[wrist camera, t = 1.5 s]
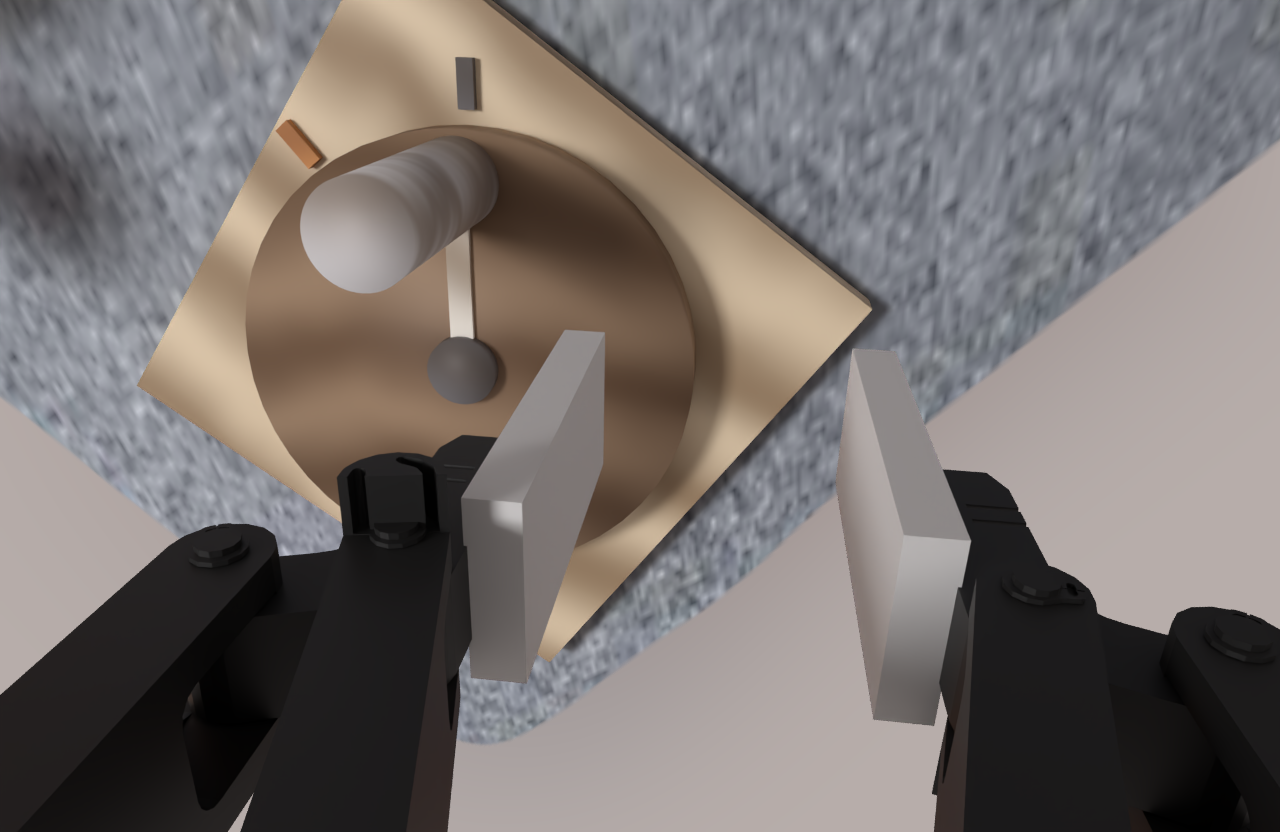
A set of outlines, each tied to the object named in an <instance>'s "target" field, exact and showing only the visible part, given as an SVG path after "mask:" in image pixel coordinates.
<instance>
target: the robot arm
mask: <svg viewBox="0 0 1280 832" xmlns="http://www.w3.org/2000/svg"><path fill="white" fill-rule="evenodd" d="M604 376H605V332H592V331H577V330H564V332H563V334H562V335H561V337H560V338H559V340H558V342H557V343H556V345H555V346H554V348H553V350H552V351H551V353H550V355H549V356H548V358H547V359H546V361H545V363H544V364H543V366H542V368H541V369H540V371H539V372H538V374H537V376H536V377H535V379H534V380H533V382H532V384H531V385H530V387H529V389H528V390H527V392H526V393H525V395H524V397H523V398H522V400H521V402H520V403H519V405H518V406H517V408H516V410H515V411H514V413H513V414H512V416H511V418H510V419H509V421H508V423H507V424H506V426H505V427H504V429H503V431H502V432H501V434H500V436H499V437H485V436H472V435H461V436H459V437H457V438H456V439H454V440H452V441H450V442H449V443H447V444H445V445H443V446H441V447H440V448H439V449H438V450H437V452H436V453H435V454H434V456H433V457H429V456H425V455H422V454H418V453H403V452H396V453H387V454H378V455H374V456H371V457H367V458H364V459H360V460H358V461H356V462H354V463H352V464H350V465H349V466H347V467H345V468H344V469H343V470H342V471H341V473H340V474H339V475H338V476H337V485H338V493H339V502H340V511H341V519H342V528H343V538H342V541H341V544H340V547H339V549H337V550H333V551H326V552H320V553H311V554H301V555H290V556H279V554H278V547H277V542H276V538H275V535H274V534H272V533H271V532H270V531H268V530H267V529H265V528H263V527H258V526H254V525H250V524H231V523H227V524H218V526H216V525H213V526H209V527H205V528H203V529H201V530H199V531H196V532H194V533H191V534H188V535H186V536H184V537H182V538H180V539H179V540H177V541H176V542H174V543H173V544H171V545H170V546H168V547H167V548H166V549H165V550H164V551H163V552H161V553H160V554H159V555H158V556H157V557H156V558H155V559H154V560H152V561H151V562H150V563H149V564H148V565H147V566H146V567H145V568H144V569H142V570H141V571H140V572H139V573H138V574H137V575H135V576H134V577H133V578H132V579H131V580H130V581H129V582H128V583H126V584H125V585H124V586H123V587H122V588H121V589H120V590H119V591H117V592H116V593H115V594H114V595H113V596H112V597H111V598H109V599H108V600H107V601H106V602H105V603H104V604H103V605H102V606H100V607H99V608H98V609H97V610H96V611H95V612H94V613H92V614H91V615H90V616H89V617H88V618H87V619H86V620H85V621H83V622H82V623H81V624H80V625H79V626H78V627H77V628H76V629H74V630H73V631H72V632H71V633H70V634H69V635H68V636H66V637H65V638H64V639H63V640H62V641H61V642H60V643H59V644H57V646H55V647H54V648H53V649H52V650H51V651H49V652H48V653H47V654H46V655H45V656H44V657H43V658H42V659H40V660H39V661H38V662H37V663H36V664H35V665H34V666H33V667H31V668H30V669H29V670H28V671H27V672H26V673H25V674H24V675H22V676H21V677H20V678H19V679H18V680H17V681H16V682H15V683H13V684H12V685H11V686H10V687H9V688H8V689H7V690H5V691H4V692H3V693H2V694H1V695H0V832H228V830H229V829H230V828H231V826H232V825H233V823H234V821H235V820H236V818H237V817H238V815H239V814H240V812H241V811H242V809H243V808H244V806H245V805H246V803H247V802H248V800H249V799H250V797H251V796H252V794H253V793H254V794H253V797H252V800H251V803H250V806H249V808H248V811H247V814H246V817H245V820H244V823H243V826H242V829H241V831H240V832H447V830H448V819H449V809H450V800H451V788H452V779H453V768H454V758H455V748H456V738H457V727H458V717H459V707H460V681H459V666H460V664H461V662H462V660H463V658H464V656H465V653H466V651H467V649H468V647H469V650H470V668H471V678H478V679H487V680H497V681H507V682H516V683H526V684H527V681H528V679H529V676H530V673H531V670H532V667H533V664H534V661H535V658H536V656H537V653H538V650H539V647H540V644H541V641H542V638H543V635H544V633H545V630H546V627H547V624H548V621H549V618H550V615H551V613H552V610H553V607H554V604H555V601H556V598H557V595H558V592H559V590H560V587H561V584H562V581H563V578H564V575H565V572H566V570H567V567H568V564H569V561H570V558H571V555H572V552H573V549H574V547H575V544H576V541H577V538H578V535H579V532H580V529H581V526H582V524H583V521H584V518H585V515H586V512H587V509H588V506H589V504H590V501H591V498H592V495H593V492H594V489H595V486H596V483H597V481H598V478H599V475H600V472H601V469H602V466H603V448H604ZM835 483H836V489H837V495H838V501H839V508H840V514H841V520H842V526H843V533H844V539H845V545H846V551H847V558H848V564H849V570H850V576H851V583H852V589H853V595H854V601H855V607H856V614H857V620H858V626H859V632H860V639H861V645H862V651H863V657H864V663H865V670H866V676H867V682H868V688H869V695H870V701H871V707H872V714H873V719H874V720H883V721H893V722H903V723H912V724H922V725H932V726H934V724H935V718H936V714H937V709H938V703H939V699H940V694H941V692H942V696H943V700H944V703H945V707H946V711H947V714H948V717H947V722H946V727H945V732H944V737H943V742H942V747H941V751H940V756H939V761H938V766H937V771H936V776H935V781H934V785H933V791H932V794H934V795H937V803H936V815H935V826H934V832H1280V629H1278V628H1276V627H1274V626H1273V625H1271V624H1269V623H1267V622H1266V621H1265V620H1263V619H1261V618H1258V617H1256V616H1253V615H1250V616H1249V615H1247V613H1244V612H1240V611H1237V610H1228V609H1222V608H1216V607H1191V608H1188V609H1186V610H1184V611H1181V612H1179V613H1177V614H1176V616H1175V618H1174V620H1173V622H1172V624H1171V628H1170V630H1169V634H1168V635H1165V634H1161V633H1157V632H1154V631H1150V630H1146V629H1143V628H1139V627H1135V626H1131V625H1128V624H1124V623H1121V622H1118V621H1115V620H1112V619H1109V618H1106V617H1104V616H1102V615H1099V614H1098V613H1097V607H1096V602H1095V600H1094V598H1093V596H1092V594H1091V592H1090V590H1089V589H1088V588H1087V587H1086V586H1085V585H1083V584H1082V583H1081V582H1080V581H1079V580H1077V579H1076V578H1075V577H1073V576H1071V575H1069V574H1067V573H1065V572H1063V571H1061V570H1059V569H1057V568H1055V567H1051V566H1048V564H1047V562H1046V560H1045V558H1044V556H1043V554H1042V552H1041V551H1040V549H1039V547H1038V545H1037V543H1036V541H1035V539H1034V537H1033V535H1032V533H1031V532H1030V529H1029V528H1028V527H1026V522H1025V520H1024V518H1023V516H1022V514H1021V512H1018V507H1017V504H1016V503H1015V501H1014V499H1013V497H1012V495H1011V493H1010V491H1009V490H1008V489H1007V488H1006V487H1004V486H1003V485H1002V484H1000V483H999V482H998V481H997V480H995V479H994V478H993V477H991V476H990V475H988V474H987V473H982V472H968V471H956V470H943V469H942V467H941V465H940V462H939V459H938V457H937V454H936V452H935V450H934V447H933V445H932V442H931V439H930V437H929V434H928V432H927V429H926V427H925V424H924V422H923V419H922V417H921V414H920V412H919V409H918V407H917V404H916V402H915V399H914V397H913V394H912V392H911V389H910V387H909V384H908V382H907V379H906V377H905V374H904V372H903V369H902V367H901V364H900V362H899V359H898V357H897V354H896V352H895V351H882V350H867V349H852V357H851V365H850V373H849V381H848V388H847V396H846V404H845V412H844V420H843V428H842V435H841V443H840V451H839V459H838V467H837V474H836V482H835Z"/></svg>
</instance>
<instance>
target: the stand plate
mask: <svg viewBox="0 0 1280 832" xmlns="http://www.w3.org/2000/svg"><path fill="white" fill-rule="evenodd" d="M437 125H475V126H483V127H492V128H500V129H503V130H507V131H511V132H515V133H519V134H523V135H527V136H530V137H533V138H535V139H538V140H540V141H543V142H545V143H548V144H550V145H553V146H555V147H558V148H560V149H561V150H563V151H565V152H567V153H569V154H570V155H572V156H574V157H576V158H578V159H579V160H581V161H583V162H585V163H586V164H588V165H589V166H590V167H592V168H593V169H595V170H596V171H597V172H599V173H600V174H601V175H603V176H604V177H605V178H607V179H608V180H609V181H611V182H612V183H613V184H614V185H615V186H616V187H617V188H618V189H619V190H620V191H621V192H622V193H623V194H624V195H625V196H627V197H628V198H629V199H630V200H631V201H632V202H633V203H634V204H635V205H636V207H637V208H638V209H639V210H640V212H641V213H642V214H643V215H644V217H645V218H646V219H647V220H648V221H649V223H650V224H651V225H652V226H653V228H654V229H655V231H656V232H657V234H658V236H659V237H660V239H661V240H662V242H663V244H664V245H665V247H666V249H667V250H668V252H669V254H670V255H671V257H672V260H673V262H674V264H675V266H676V269H677V271H678V273H679V275H680V278H681V280H682V282H683V285H684V289H685V292H686V295H687V299H688V302H689V306H690V309H691V314H692V320H693V327H694V333H695V344H696V370H695V378H694V386H693V394H692V399H691V405H690V411H689V414H688V418H687V422H686V425H685V429H684V433H683V436H682V439H681V441H680V444H679V446H678V448H677V451H676V453H675V455H674V457H673V460H672V462H671V464H670V465H669V467H668V468H667V470H666V472H665V473H664V475H663V477H662V478H661V480H660V481H659V483H658V485H657V486H656V487H655V488H654V489H653V491H652V492H651V493H650V494H649V495H648V496H647V498H646V499H645V500H644V501H643V502H642V504H641V505H640V506H638V507H637V508H636V509H635V510H634V511H633V512H632V513H631V514H630V515H628V516H627V517H626V518H625V519H624V520H623V521H622V522H620V523H619V524H617V525H616V526H614V527H613V528H611V529H610V530H608V531H607V532H605V533H604V534H602V535H601V536H599V537H597V538H595V539H593V540H591V541H589V542H587V543H585V544H583V545H581V546H579V547H576V548H574V549H573V552H572V555H571V558H570V561H569V564H568V567H567V570H566V572H565V575H564V578H563V581H562V584H561V587H560V590H559V592H558V595H557V598H556V601H555V604H554V607H553V610H552V613H551V615H550V618H549V621H548V624H547V627H546V630H545V633H544V635H543V638H542V641H541V644H540V647H539V650H538V653H537V654H538V655H539V656H541V657H542V658H544V659H545V660H547V661H548V662H550V661H551V660H552V659H553V658H554V656H555V655H556V654H557V653H558V652H559V651H560V650H561V649H562V648H563V647H564V646H565V644H566V643H567V642H568V641H569V640H570V639H571V638H572V637H573V636H574V635H575V634H576V632H577V631H578V630H579V629H580V628H581V627H582V626H583V625H584V624H585V623H586V622H587V620H588V619H589V618H590V617H591V616H592V615H593V614H594V613H595V612H596V611H597V610H598V608H599V607H600V606H601V605H602V604H603V603H604V602H605V601H606V600H607V599H608V598H609V596H610V595H611V594H612V593H613V592H614V591H615V590H616V589H617V588H618V587H619V586H620V584H621V583H622V582H623V581H624V580H625V579H626V578H627V577H628V576H629V575H630V574H631V572H632V571H633V570H634V569H635V568H636V567H637V566H638V565H639V564H640V563H641V562H642V560H643V559H644V558H645V557H646V556H647V555H648V554H649V553H650V552H651V551H652V550H653V548H654V547H655V546H656V545H657V544H658V543H659V542H660V541H661V540H662V539H663V538H664V536H665V535H666V534H667V533H668V532H669V531H670V530H671V529H672V528H673V527H674V526H675V524H676V523H677V522H678V521H679V520H680V519H681V518H682V517H683V516H684V515H685V514H686V512H687V511H688V510H689V509H690V508H691V507H692V506H693V505H694V504H695V503H696V502H697V500H698V499H699V498H700V497H701V496H702V495H703V494H704V493H705V492H706V491H707V490H708V488H709V487H710V486H711V485H712V484H713V483H714V482H715V481H716V480H717V479H718V478H719V476H720V475H721V474H722V473H723V472H724V471H725V470H726V469H727V468H728V467H729V466H730V464H731V463H732V462H733V461H734V460H735V459H736V458H737V457H738V456H739V455H740V454H741V452H742V451H743V450H744V449H745V448H746V447H747V446H748V445H749V444H750V443H751V442H752V440H753V439H754V438H755V437H756V436H757V435H758V434H759V433H760V432H761V431H762V430H763V428H764V427H765V426H766V425H767V424H768V423H769V422H770V421H771V420H772V419H773V418H774V416H775V415H776V414H777V413H778V412H779V411H780V410H781V409H782V408H783V407H784V406H785V404H786V403H787V402H788V401H789V400H790V399H791V398H792V397H793V396H794V395H795V394H796V392H797V391H798V390H799V389H800V388H801V387H802V386H803V385H804V384H805V383H806V382H807V380H808V379H809V378H810V377H811V376H812V375H813V374H814V373H815V372H816V371H817V370H818V368H819V367H820V366H821V365H822V364H823V363H824V362H825V361H826V360H827V359H828V358H829V356H830V355H831V354H832V353H833V352H834V351H835V350H836V349H837V348H838V347H839V346H840V344H841V343H842V342H843V341H844V340H845V339H846V338H847V337H848V336H849V335H850V334H851V332H852V331H853V330H854V329H855V328H856V327H857V326H858V325H859V324H860V323H861V322H862V320H863V319H864V318H865V317H866V316H867V315H868V314H869V313H870V312H871V311H872V307H871V304H870V302H869V299H867V298H866V297H865V296H863V295H862V294H861V293H860V292H858V291H857V290H856V289H855V288H853V287H852V286H851V285H850V284H848V283H847V282H846V281H845V280H843V279H842V278H841V277H840V276H838V275H837V274H836V273H835V272H833V271H832V270H831V269H830V268H828V267H827V266H826V265H824V264H823V263H822V262H821V261H819V260H818V259H817V258H816V257H814V256H813V255H812V254H811V253H809V252H808V251H807V250H806V249H804V248H803V247H802V246H801V245H799V244H798V243H797V242H796V241H794V240H793V239H792V238H791V237H789V236H788V235H787V234H786V233H784V232H783V231H782V230H780V229H779V228H778V227H777V226H775V225H774V224H773V223H772V222H770V221H769V220H768V219H767V218H765V217H764V216H763V215H762V214H760V213H759V212H758V211H757V210H755V209H754V208H753V207H752V206H750V205H749V204H748V203H747V202H745V201H744V200H743V199H741V198H740V197H739V196H738V195H736V194H735V193H734V192H733V191H731V190H730V189H729V188H728V187H726V186H725V185H724V184H723V183H721V182H720V181H719V180H718V179H716V178H715V177H714V176H713V175H711V174H710V173H709V172H708V171H706V170H705V169H704V168H703V167H701V166H700V165H699V164H697V163H696V162H695V161H694V160H692V159H691V158H690V157H689V156H687V155H686V154H685V153H684V152H682V151H681V150H680V149H679V148H677V147H676V146H675V145H674V144H672V143H671V142H670V141H669V140H667V139H666V138H665V137H664V136H662V135H661V134H660V133H658V132H657V131H656V130H655V129H653V128H652V127H651V126H650V125H648V124H647V123H646V122H645V121H643V120H642V119H641V118H640V117H638V116H637V115H636V114H635V113H633V112H632V111H631V110H630V109H628V108H627V107H626V106H625V105H623V104H622V103H621V102H619V101H618V100H617V99H616V98H614V97H613V96H612V95H611V94H609V93H608V92H607V91H606V90H604V89H603V88H602V87H601V86H599V85H598V84H597V83H596V82H594V81H593V80H592V79H591V78H589V77H588V76H587V75H586V74H584V73H583V72H582V71H581V70H579V69H578V68H577V67H575V66H574V65H573V64H572V63H570V62H569V61H568V60H567V59H565V58H564V57H563V56H562V55H560V54H559V53H558V52H557V51H555V50H554V49H553V48H552V47H550V46H549V45H548V44H547V43H545V42H544V41H543V40H542V39H540V38H539V37H538V36H536V35H535V34H534V33H533V32H531V31H530V30H529V29H528V28H526V27H525V26H524V25H523V24H521V23H520V22H519V21H518V20H516V19H515V18H514V17H513V16H511V15H510V14H509V13H508V12H506V11H505V10H504V9H503V8H501V7H500V6H499V5H497V4H496V3H495V2H494V1H492V0H342V1H341V3H340V5H339V6H338V8H337V10H336V12H335V14H334V16H333V18H332V20H331V22H330V23H329V25H328V27H327V29H326V31H325V33H324V35H323V37H322V38H321V40H320V42H319V44H318V46H317V48H316V50H315V52H314V53H313V55H312V57H311V59H310V61H309V63H308V65H307V67H306V69H305V70H304V72H303V74H302V76H301V78H300V80H299V82H298V84H297V85H296V87H295V89H294V91H293V93H292V95H291V97H290V99H289V100H288V102H287V104H286V106H285V108H284V110H283V112H282V114H281V116H280V117H279V119H278V121H277V123H276V125H275V127H274V129H273V131H272V132H271V134H270V136H269V138H268V140H267V142H266V144H265V146H264V147H263V149H262V151H261V153H260V155H259V157H258V159H257V161H256V163H255V164H254V166H253V168H252V170H251V172H250V174H249V176H248V178H247V179H246V181H245V183H244V185H243V187H242V189H241V191H240V193H239V194H238V196H237V198H236V200H235V202H234V204H233V206H232V208H231V210H230V211H229V213H228V215H227V217H226V219H225V221H224V223H223V225H222V226H221V228H220V230H219V232H218V234H217V236H216V238H215V240H214V241H213V243H212V245H211V247H210V249H209V251H208V253H207V255H206V257H205V258H204V260H203V262H202V264H201V266H200V268H199V270H198V272H197V273H196V275H195V277H194V279H193V281H192V283H191V285H190V287H189V288H188V290H187V292H186V294H185V296H184V298H183V300H182V302H181V304H180V305H179V307H178V309H177V311H176V313H175V315H174V317H173V319H172V320H171V322H170V324H169V326H168V328H167V330H166V332H165V334H164V336H163V337H162V339H161V341H160V343H159V345H158V347H157V349H156V351H155V352H154V354H153V356H152V358H151V360H150V362H149V364H148V366H147V367H146V369H145V371H144V373H143V375H142V377H141V379H140V381H139V383H138V384H137V386H138V387H140V388H141V389H143V390H144V391H146V392H147V393H149V394H150V395H152V396H153V397H155V398H156V399H158V400H159V401H161V402H162V403H164V404H165V405H167V406H168V407H170V408H171V409H173V410H174V411H176V412H177V413H179V414H180V415H182V416H183V417H185V418H186V419H187V420H189V421H190V422H192V423H193V424H195V425H196V426H198V427H199V428H201V429H202V430H204V431H205V432H207V433H208V434H210V435H211V436H213V437H214V438H216V439H217V440H219V441H220V442H222V443H223V444H225V445H226V446H228V447H229V448H231V449H232V450H234V451H235V452H237V453H238V454H240V455H241V456H243V457H244V458H246V459H247V460H249V461H250V462H252V463H253V464H255V465H256V466H258V467H259V468H260V469H262V470H263V471H265V472H266V473H268V474H269V475H271V476H272V477H274V478H275V479H277V480H278V481H280V482H281V483H283V484H284V485H286V486H287V487H289V488H290V489H292V490H293V491H295V492H296V493H298V494H299V495H301V496H302V497H304V498H305V499H307V500H308V501H310V502H311V503H313V504H314V505H316V506H317V507H319V508H320V509H322V510H323V511H325V512H326V513H328V514H329V515H331V516H332V517H334V518H335V519H336V520H338V521H339V522H341V523H342V519H341V511H340V506H338V505H337V504H336V503H335V502H334V501H332V500H331V499H330V498H329V497H327V496H326V495H325V494H324V493H323V492H322V491H321V490H320V489H319V488H318V487H317V486H316V485H315V484H314V483H313V482H312V481H311V480H310V479H309V478H308V477H307V475H306V474H305V473H304V472H303V470H302V469H301V468H300V467H299V465H298V464H297V463H296V462H295V460H294V459H293V458H292V457H291V455H290V454H289V452H288V451H287V449H286V448H285V446H284V445H283V443H282V441H281V440H280V438H279V437H278V435H277V434H276V432H275V430H274V428H273V426H272V424H271V422H270V420H269V418H268V416H267V414H266V412H265V410H264V408H263V405H262V402H261V400H260V397H259V394H258V391H257V388H256V385H255V382H254V379H253V375H252V370H251V365H250V361H249V356H248V350H247V339H246V327H245V321H246V301H247V293H248V287H249V282H250V277H251V272H252V268H253V265H254V262H255V259H256V256H257V254H258V251H259V248H260V245H261V243H262V241H263V239H264V237H265V235H266V233H267V231H268V229H269V227H270V225H271V223H272V222H273V220H274V218H275V217H276V215H277V214H278V213H279V211H280V210H281V209H282V207H283V206H284V205H285V203H286V202H287V201H288V199H289V198H290V196H291V195H292V194H293V193H294V192H295V191H296V190H298V189H299V188H300V187H301V186H302V185H303V184H304V183H305V182H306V181H307V180H308V179H309V178H310V177H311V176H312V175H313V174H315V173H316V172H318V171H319V170H320V169H322V168H323V167H325V166H326V165H327V164H329V163H330V162H331V161H333V160H334V159H336V158H338V157H340V156H342V155H344V154H346V153H348V152H350V151H352V150H354V149H356V148H358V147H360V146H362V145H365V144H368V143H371V142H374V141H377V140H380V139H383V138H386V137H389V136H392V135H395V134H398V133H401V132H405V131H408V130H413V129H419V128H425V127H431V126H437Z"/></svg>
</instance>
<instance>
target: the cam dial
mask: <svg viewBox="0 0 1280 832" xmlns="http://www.w3.org/2000/svg"><path fill="white" fill-rule="evenodd" d="M245 327H246V339H247V350H248V356H249V361H250V365H251V370H252V375H253V379H254V382H255V385H256V388H257V391H258V394H259V397H260V400H261V402H262V405H263V408H264V410H265V412H266V414H267V416H268V418H269V420H270V422H271V424H272V426H273V428H274V430H275V432H276V434H277V435H278V437H279V438H280V440H281V441H282V443H283V445H284V446H285V448H286V449H287V451H288V452H289V454H290V455H291V457H292V458H293V459H294V460H295V462H296V463H297V464H298V465H299V467H300V468H301V469H302V470H303V472H304V473H305V474H306V475H307V477H308V478H309V479H310V480H311V481H312V482H313V483H314V484H315V485H316V486H317V487H318V488H319V489H320V490H321V491H322V492H323V493H324V494H325V495H326V496H327V497H329V498H330V499H331V500H332V501H334V502H335V503H336V504H337V505H338V506H340V502H339V493H338V485H337V476H338V475H339V474H340V473H341V471H342V470H343V469H344V468H345V467H347V466H349V465H350V464H352V463H354V462H356V461H358V460H360V459H364V458H367V457H371V456H374V455H378V454H387V453H396V452H403V453H418V454H422V455H425V456H429V457H433V456H434V454H435V453H436V452H437V450H438V449H439V448H440V447H441V446H443V445H445V444H447V443H449V442H450V441H452V440H454V439H456V438H457V437H459V436H461V435H472V436H485V437H499V436H500V434H501V432H502V431H503V429H504V427H505V426H506V424H507V423H508V421H509V419H510V418H511V416H512V414H513V413H514V411H515V410H516V408H517V406H518V405H519V403H520V402H521V400H522V398H523V397H524V395H525V393H526V392H527V390H528V389H529V387H530V385H531V384H532V382H533V380H534V379H535V377H536V376H537V374H538V372H539V371H540V369H541V368H542V366H543V364H544V363H545V361H546V359H547V358H548V356H549V355H550V353H551V351H552V350H553V348H554V346H555V345H556V343H557V342H558V340H559V338H560V337H561V335H562V334H563V332H564V330H577V331H592V332H605V376H604V448H603V466H602V469H601V472H600V475H599V478H598V481H597V483H596V486H595V489H594V492H593V495H592V498H591V501H590V504H589V506H588V509H587V512H586V515H585V518H584V521H583V524H582V526H581V529H580V532H579V535H578V538H577V541H576V544H575V547H574V548H576V547H579V546H581V545H583V544H585V543H587V542H589V541H591V540H593V539H595V538H597V537H599V536H601V535H602V534H604V533H605V532H607V531H608V530H610V529H611V528H613V527H614V526H616V525H617V524H619V523H620V522H622V521H623V520H624V519H625V518H626V517H627V516H628V515H630V514H631V513H632V512H633V511H634V510H635V509H636V508H637V507H638V506H640V505H641V504H642V502H643V501H644V500H645V499H646V498H647V496H648V495H649V494H650V493H651V492H652V491H653V489H654V488H655V487H656V486H657V485H658V483H659V481H660V480H661V478H662V477H663V475H664V473H665V472H666V470H667V468H668V467H669V465H670V464H671V462H672V460H673V457H674V455H675V453H676V451H677V448H678V446H679V444H680V441H681V439H682V436H683V433H684V429H685V425H686V422H687V418H688V414H689V411H690V405H691V399H692V394H693V386H694V378H695V370H696V344H695V333H694V327H693V320H692V314H691V309H690V306H689V302H688V299H687V295H686V292H685V289H684V285H683V282H682V280H681V278H680V275H679V273H678V271H677V269H676V266H675V264H674V262H673V260H672V257H671V255H670V254H669V252H668V250H667V249H666V247H665V245H664V244H663V242H662V240H661V239H660V237H659V236H658V234H657V232H656V231H655V229H654V228H653V226H652V225H651V224H650V223H649V221H648V220H647V219H646V218H645V217H644V215H643V214H642V213H641V212H640V210H639V209H638V208H637V207H636V205H635V204H634V203H633V202H632V201H631V200H630V199H629V198H628V197H627V196H625V195H624V194H623V193H622V192H621V191H620V190H619V189H618V188H617V187H616V186H615V185H614V184H613V183H612V182H611V181H609V180H608V179H607V178H605V177H604V176H603V175H601V174H600V173H599V172H597V171H596V170H595V169H593V168H592V167H590V166H589V165H588V164H586V163H585V162H583V161H581V160H579V159H578V158H576V157H574V156H572V155H570V154H569V153H567V152H565V151H563V150H561V149H560V148H558V147H555V146H553V145H550V144H548V143H545V142H543V141H540V140H538V139H535V138H533V137H530V136H527V135H523V134H519V133H515V132H511V131H507V130H503V129H500V128H492V127H483V126H475V125H437V126H431V127H425V128H419V129H413V130H408V131H405V132H401V133H398V134H395V135H392V136H389V137H386V138H383V139H380V140H377V141H374V142H371V143H368V144H365V145H362V146H360V147H358V148H356V149H354V150H352V151H350V152H348V153H346V154H344V155H342V156H340V157H338V158H336V159H334V160H333V161H331V162H330V163H329V164H327V165H326V166H325V167H323V168H322V169H320V170H319V171H318V172H316V173H315V174H313V175H312V176H311V177H310V178H309V179H308V180H307V181H306V182H305V183H304V184H303V185H302V186H301V187H300V188H299V189H298V190H296V191H295V192H294V193H293V194H292V195H291V196H290V198H289V199H288V201H287V202H286V203H285V205H284V206H283V207H282V209H281V210H280V211H279V213H278V214H277V215H276V217H275V218H274V220H273V222H272V223H271V225H270V227H269V229H268V231H267V233H266V235H265V237H264V239H263V241H262V243H261V245H260V248H259V251H258V254H257V256H256V259H255V262H254V265H253V268H252V272H251V277H250V282H249V287H248V293H247V301H246V321H245Z"/></svg>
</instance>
